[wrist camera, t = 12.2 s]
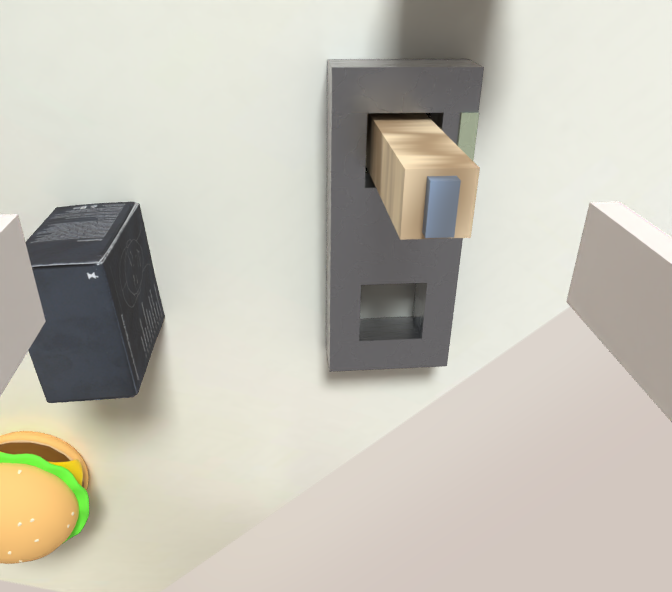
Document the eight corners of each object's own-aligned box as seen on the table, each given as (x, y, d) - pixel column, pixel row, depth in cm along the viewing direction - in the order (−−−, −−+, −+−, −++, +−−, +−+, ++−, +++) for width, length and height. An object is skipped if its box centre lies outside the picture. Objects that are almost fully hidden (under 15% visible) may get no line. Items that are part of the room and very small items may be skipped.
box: (50, 205, 45) (-6, 268, 36) (140, 198, 45) (107, 259, 36) (86, 326, 50) (45, 407, 41) (166, 319, 51) (143, 397, 41)
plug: (365, 164, 46) (402, 245, 33) (367, 110, 44) (408, 174, 31) (417, 163, 46) (474, 243, 33) (421, 110, 44) (484, 172, 31)
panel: (326, 347, 53) (329, 372, 50) (327, 59, 42) (332, 67, 38) (437, 343, 54) (447, 367, 51) (468, 59, 43) (484, 67, 39)
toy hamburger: (90, 520, 61) (65, 598, 54) (-39, 500, 58) (-85, 580, 51) (111, 432, 56) (87, 506, 48) (-29, 405, 53) (-78, 479, 45)
